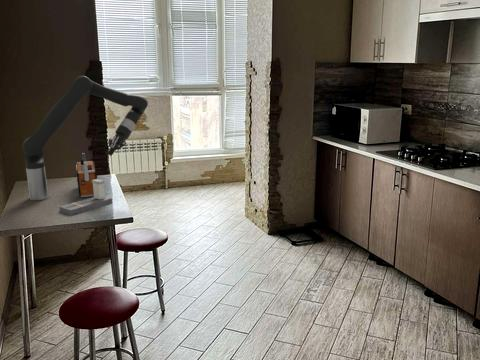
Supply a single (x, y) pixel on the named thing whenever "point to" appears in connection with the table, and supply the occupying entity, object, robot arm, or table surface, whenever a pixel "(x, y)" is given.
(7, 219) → the table surface
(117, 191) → the table surface
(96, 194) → the fader tab
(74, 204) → the fader console
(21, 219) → the table surface
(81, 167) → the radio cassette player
